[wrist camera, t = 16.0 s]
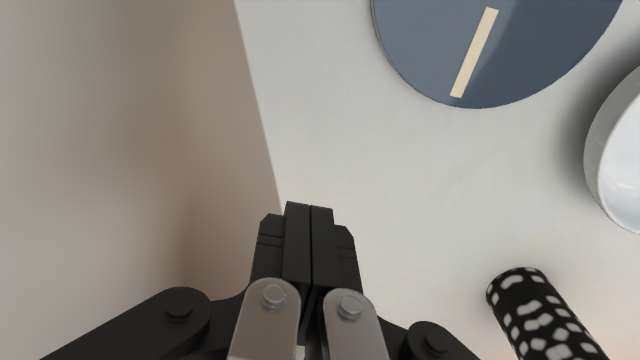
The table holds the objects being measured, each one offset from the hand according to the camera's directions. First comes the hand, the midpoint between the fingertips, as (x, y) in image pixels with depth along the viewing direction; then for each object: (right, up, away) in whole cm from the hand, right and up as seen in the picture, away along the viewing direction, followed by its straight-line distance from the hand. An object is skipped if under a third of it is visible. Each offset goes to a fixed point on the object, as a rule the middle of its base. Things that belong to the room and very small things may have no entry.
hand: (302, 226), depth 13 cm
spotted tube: (+28, -14, +40) cm, 50 cm away
